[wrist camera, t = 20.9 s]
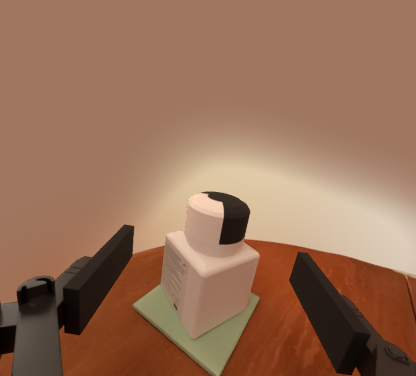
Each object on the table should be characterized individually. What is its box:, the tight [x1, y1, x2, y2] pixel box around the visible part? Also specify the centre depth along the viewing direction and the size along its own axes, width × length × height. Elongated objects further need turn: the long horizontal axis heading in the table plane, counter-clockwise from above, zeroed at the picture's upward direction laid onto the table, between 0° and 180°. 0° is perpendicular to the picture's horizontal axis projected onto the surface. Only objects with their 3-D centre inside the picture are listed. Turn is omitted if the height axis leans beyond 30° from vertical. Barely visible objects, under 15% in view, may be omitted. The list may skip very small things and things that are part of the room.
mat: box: [133, 284, 260, 376], centre depth 24 cm, size 11×11×1 cm
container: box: [161, 192, 259, 339], centre depth 22 cm, size 8×8×13 cm
